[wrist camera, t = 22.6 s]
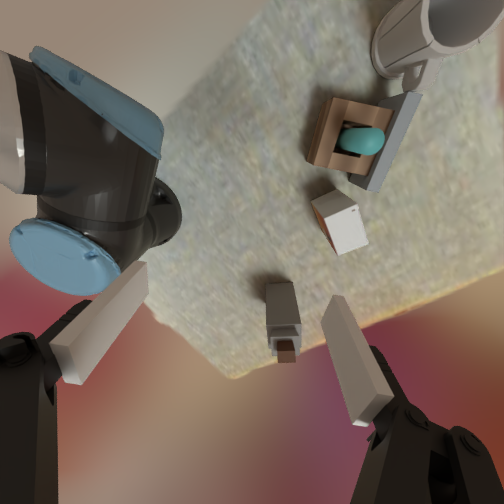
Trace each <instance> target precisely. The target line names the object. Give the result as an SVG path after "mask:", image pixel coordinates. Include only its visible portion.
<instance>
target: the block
mask: <svg viewBox="0 0 504 504" xmlns="http://www.w3.org/2000/svg"><path fill="white" fill-rule="evenodd" d="M394 112H395V110H391V109H386V108H381V107H377V106H372V105H367V104H363V103H358V102H353V101H349V100H344V99H339V98H335V97H333V98H332V99H330V100H328V101H326V102H325V103H323V104H322V107H321V111H320V114H319V118H318V121H317V125H316V129H315V132H314V136H313V139H312V143H311V147H310V150H309V154H308V157H307V162H309V163H311V164H312V165H315V166H320V167H325V168H330V169H335V170H340V171H345V172H350V173H355V174H360V175H365V176H368V174H369V172H370V170H371V167H372V165H373V162H374V160H375V158H376V155H377V153H378V152H377V153H375V154H373V155H363V154H359V153H355V152H351V151H347V150H343V149H339V148H336V147H335V144H336V141H337V138H338V135H339V132H340V129H342V128H379V129H381V130H382V131H383V133H384V136H385V134H386V131H387V129H388V127H389V124H390V122H391V119H392V117H393V115H394Z"/></svg>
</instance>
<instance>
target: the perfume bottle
mask: <svg viewBox="0 0 504 504" xmlns="http://www.w3.org/2000/svg"><path fill="white" fill-rule="evenodd" d="M266 328H267V337H268V346H269V349H270V348H271V349H272V356H278V363H289V362H290V363H291V362H296V360H295V355H300V348H301V320H300V315H299V310H298V305H297V301H296V296H295V291H294V286H293V282H287V283H271V284H266Z"/></svg>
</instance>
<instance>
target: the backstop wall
mask: <svg viewBox="0 0 504 504" xmlns="http://www.w3.org/2000/svg"><path fill="white" fill-rule="evenodd" d="M422 96H423V94H418V93H414V92H409V91H408V92H405V93H402V94H399V95H396V96H393V97H389V98H386V99H383V100H380V101H379V103H378V106H377V107H381V108H386V109H391V110H395V112H394V115H393V117H392V119H391V122H390V124H389V127H388V129H387V131H386V134H385V140H384V144H383V146H382V148H381V149H380V150H379V151H378V153H377V155H376V158H375V160H374V162H373V165H372V167H371V170H370V172H369V174H368V176H365V175H360V174H355V173H352V174H351V177H350V179H349V182H351V183H353V184H355V185H357V186H359V187H361V188H363V189H365V190H367V191H372V192H377V193H378V192H379V190H380V188H381V186H382V184H383V181H384V179H385V177H386V175H387V173H388V170H389V168H390V166H391V164H392V162H393V159H394V157H395V155H396V153H397V151H398V148H399V146H400V144H401V142H402V140H403V137H404V135H405V133H406V131H407V129H408V127H409V124H410V122H411V120H412V118H413V116H414V113H415V111H416V109H417V107H418V105H419V102H420V100H421V98H422Z"/></svg>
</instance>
